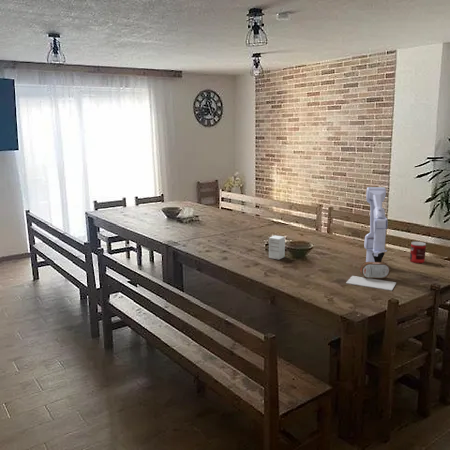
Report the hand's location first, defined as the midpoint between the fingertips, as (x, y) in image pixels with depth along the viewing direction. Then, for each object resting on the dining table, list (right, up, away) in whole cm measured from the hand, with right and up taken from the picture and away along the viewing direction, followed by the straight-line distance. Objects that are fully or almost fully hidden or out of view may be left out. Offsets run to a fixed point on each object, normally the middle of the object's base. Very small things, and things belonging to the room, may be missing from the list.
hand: (377, 266), depth 236 cm
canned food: (+31, 0, +24) cm, 39 cm away
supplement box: (-49, +2, +35) cm, 61 cm away
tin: (-3, -6, -4) cm, 8 cm away
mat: (-7, -8, -11) cm, 15 cm away
